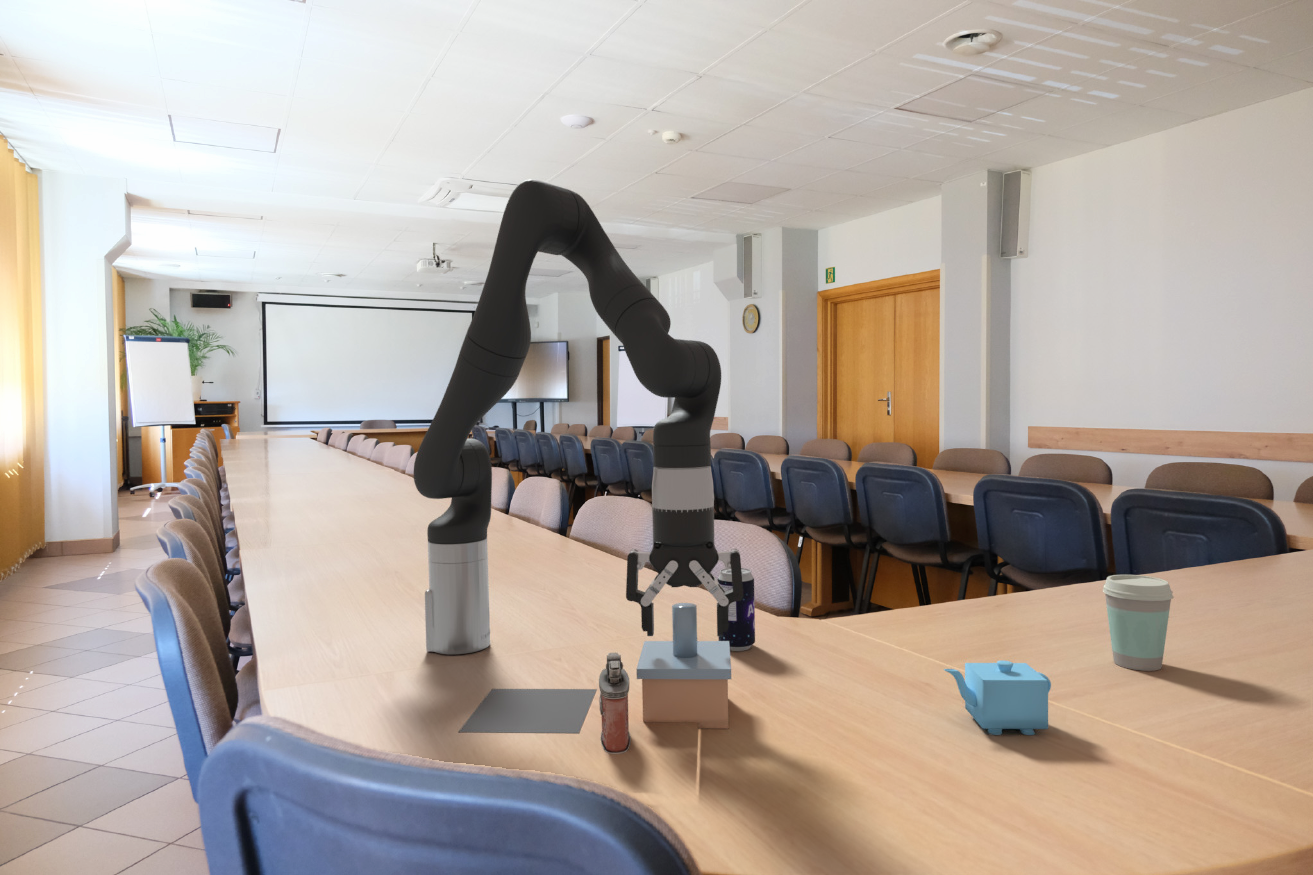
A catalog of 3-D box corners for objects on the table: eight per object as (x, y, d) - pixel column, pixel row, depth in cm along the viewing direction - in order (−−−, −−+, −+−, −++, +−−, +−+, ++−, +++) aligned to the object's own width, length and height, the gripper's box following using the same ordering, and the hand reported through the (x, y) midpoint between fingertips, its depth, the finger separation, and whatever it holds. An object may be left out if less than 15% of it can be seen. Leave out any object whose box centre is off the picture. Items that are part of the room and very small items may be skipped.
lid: (636, 678, 92) (635, 617, 92) (644, 650, 103) (643, 595, 103) (731, 679, 91) (730, 617, 91) (729, 650, 102) (728, 594, 102)
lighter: (600, 731, 92) (597, 646, 92) (628, 729, 92) (627, 645, 92) (601, 761, 84) (598, 669, 84) (632, 760, 84) (630, 667, 84)
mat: (458, 738, 91) (458, 731, 91) (492, 694, 105) (492, 688, 105) (579, 739, 90) (578, 732, 90) (596, 695, 104) (596, 689, 104)
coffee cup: (1163, 657, 114) (1163, 575, 114) (1181, 677, 106) (1181, 588, 106) (1096, 652, 117) (1096, 572, 116) (1109, 671, 109) (1109, 585, 108)
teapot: (952, 736, 89) (951, 670, 88) (936, 715, 95) (936, 653, 95) (1062, 737, 88) (1062, 670, 88) (1039, 716, 94) (1039, 653, 94)
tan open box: (643, 727, 93) (641, 677, 92) (649, 696, 103) (648, 651, 102) (728, 728, 92) (727, 677, 92) (726, 697, 102) (726, 651, 102)
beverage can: (753, 653, 120) (752, 574, 119) (716, 651, 121) (715, 574, 121) (756, 642, 125) (755, 567, 125) (721, 640, 127) (719, 566, 126)
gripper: (621, 508, 93) (624, 643, 94) (742, 506, 92) (745, 644, 93) (628, 500, 101) (630, 626, 101) (740, 499, 100) (742, 626, 100)
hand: (685, 634), depth 97 cm, fingers open, 8 cm apart
